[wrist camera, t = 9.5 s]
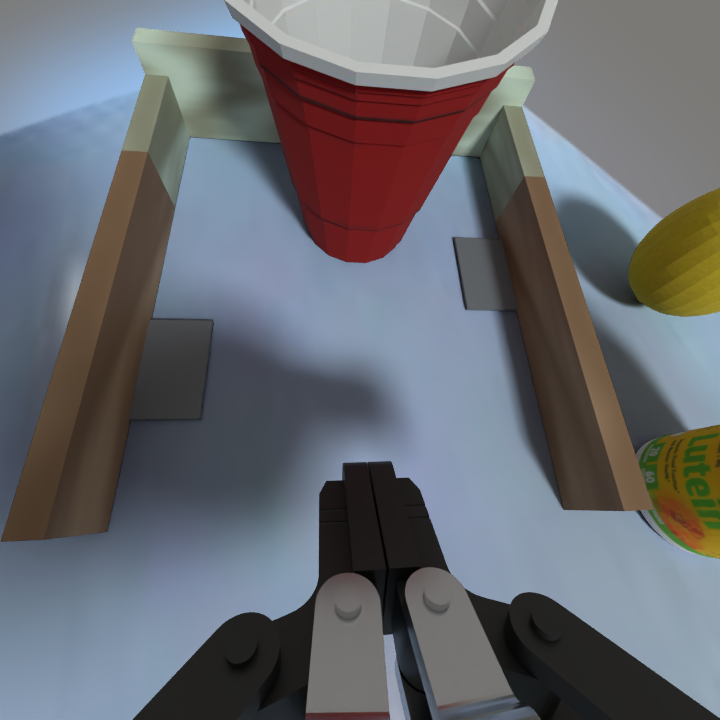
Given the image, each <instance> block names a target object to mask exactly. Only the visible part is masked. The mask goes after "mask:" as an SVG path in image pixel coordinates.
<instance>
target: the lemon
mask: <svg viewBox="0 0 720 720" xmlns="http://www.w3.org/2000/svg"><path fill="white" fill-rule="evenodd" d="M628 276H629V283H630V286H631V289H632V290H633V292H634V294H635V295H636V298H637V300H638V301H639V302H641V303H644V304H645V305H646V306H648V307H649V308H651V309H653V310H655V311H658V312H660V313H663V314H667V315H674V316H682V317H685V316H699V315H707V314H711V313H716V312H719V311H720V188H719V189H716V190H714V191H711V192H709V193H707V194H705V195H702V196H700V197H698V198H696V199H694V200H692V201H691V202H689V203H687V204H685V205H683V206H682V207H680V208H678V209H677V210H675V211H674V212H672V213H671V214H669V215H668V216H666V217H665V218H664V219H662V220H661V221H660V222H659V223H658V224H657V225H655V227H654V228H653V229H652V230H651V231H650V232H649V233H648V234H647V235H646V236H645V237H644V239H643V240H642V241H641V242H640V243H639V245H638V246H637V248H636V249H635V251H634V253H633V256H632V258H631V261H630V264H629V270H628Z"/></svg>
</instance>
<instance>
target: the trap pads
mask: <svg viewBox="0 0 720 720" xmlns="http://www.w3.org/2000/svg"><path fill="white" fill-rule="evenodd" d="M454 243H455V249H456V255H457V260H458V266H459V272H460V277H461V283H462V289H463V294H464V300H465V306H466V310H492V311H517V310H518V306H517V302H516V298H515V293H514V289H513V285H512V281H511V277H510V273H509V268H508V264H507V260H506V256H505V252H504V248H503V244H502V239H485V238H461V237H455V238H454ZM212 330H213V321H212V320H152V319H149V324H148V329H147V334H146V338H145V343H144V348H143V352H142V357H141V362H140V367H139V371H138V376H137V381H136V386H135V390H134V395H133V400H132V404H131V409H130V414H129V420H170V419H201V412H202V405H203V397H204V390H205V382H206V375H207V367H208V360H209V352H210V345H211V337H212Z"/></svg>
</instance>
